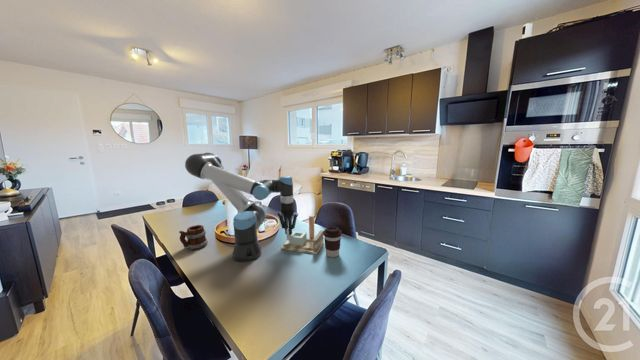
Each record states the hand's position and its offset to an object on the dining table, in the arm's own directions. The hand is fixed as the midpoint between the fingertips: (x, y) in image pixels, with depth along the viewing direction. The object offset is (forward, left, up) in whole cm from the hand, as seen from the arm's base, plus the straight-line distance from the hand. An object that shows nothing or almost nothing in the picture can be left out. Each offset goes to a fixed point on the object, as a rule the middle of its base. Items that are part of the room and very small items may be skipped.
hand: (288, 239), depth 133 cm
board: (+9, 0, -3) cm, 10 cm away
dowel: (+11, +11, -3) cm, 16 cm away
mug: (-53, -19, -3) cm, 56 cm away
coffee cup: (+29, -5, -3) cm, 29 cm away
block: (+6, 0, -2) cm, 6 cm away
